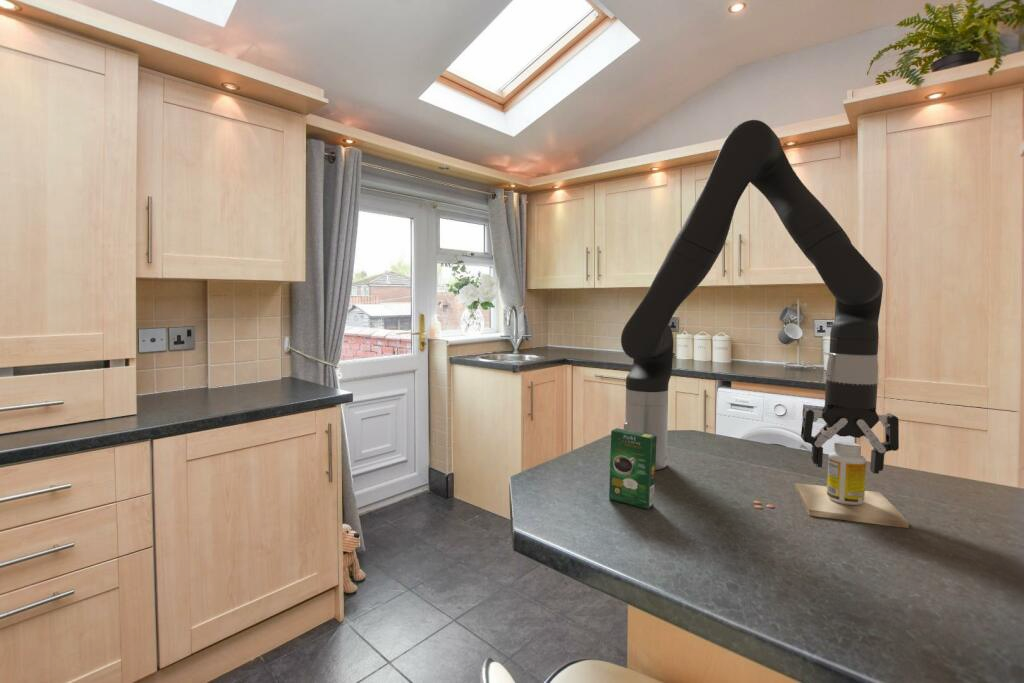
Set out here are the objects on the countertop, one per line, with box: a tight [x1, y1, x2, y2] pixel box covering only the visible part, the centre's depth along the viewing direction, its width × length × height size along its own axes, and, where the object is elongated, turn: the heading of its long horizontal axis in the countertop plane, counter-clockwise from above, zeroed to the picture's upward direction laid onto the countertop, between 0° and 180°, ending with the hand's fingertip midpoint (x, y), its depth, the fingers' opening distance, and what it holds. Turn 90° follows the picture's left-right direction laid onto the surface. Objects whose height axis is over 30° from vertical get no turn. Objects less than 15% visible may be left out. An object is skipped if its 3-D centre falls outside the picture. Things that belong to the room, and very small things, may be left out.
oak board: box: [794, 482, 910, 529], centre depth 89 cm, size 14×14×1 cm
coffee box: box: [608, 427, 657, 510], centre depth 90 cm, size 8×3×13 cm, turn 52°
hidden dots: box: [752, 500, 776, 510], centre depth 89 cm, size 3×4×1 cm
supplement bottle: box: [826, 440, 867, 505], centre depth 89 cm, size 6×6×10 cm
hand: (846, 469), depth 89 cm, fingers open, 8 cm apart
